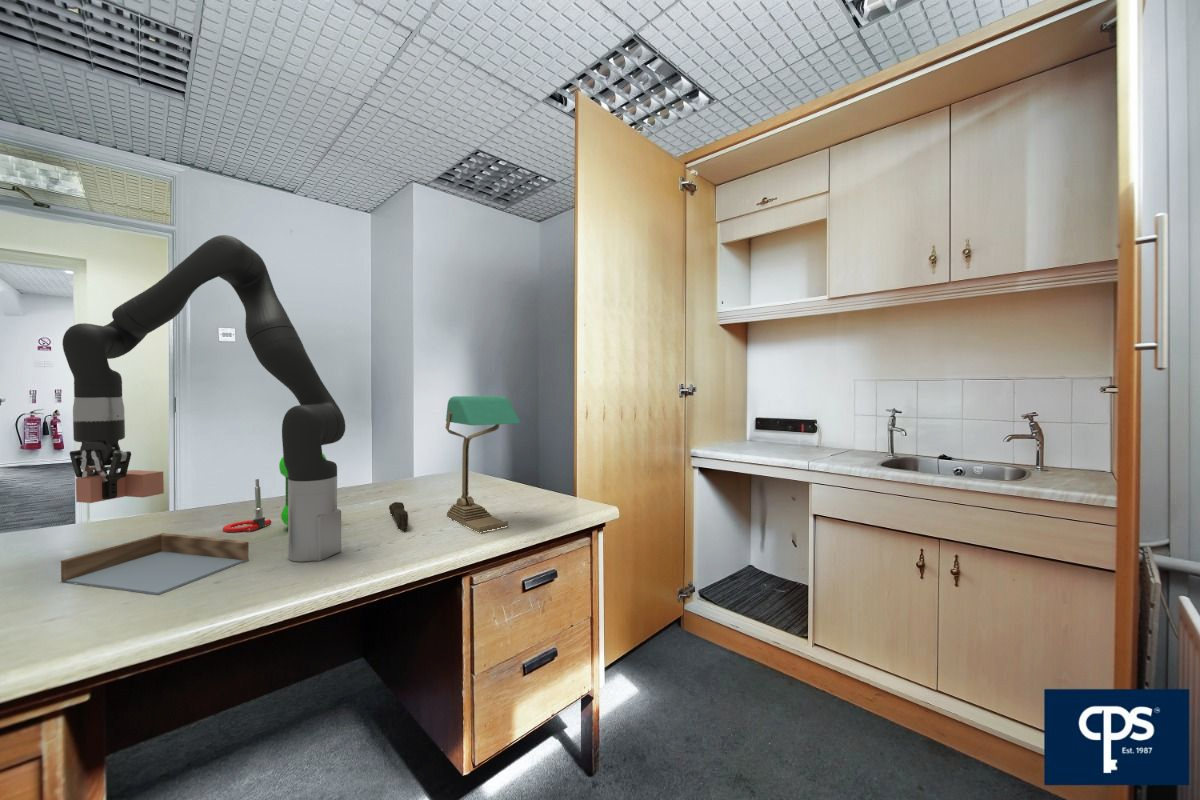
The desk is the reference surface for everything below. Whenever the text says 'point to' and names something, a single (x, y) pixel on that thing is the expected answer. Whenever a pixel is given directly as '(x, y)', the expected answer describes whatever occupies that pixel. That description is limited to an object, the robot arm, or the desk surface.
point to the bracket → (121, 486)
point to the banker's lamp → (468, 413)
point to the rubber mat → (156, 572)
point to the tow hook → (258, 516)
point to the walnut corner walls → (150, 546)
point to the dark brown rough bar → (399, 515)
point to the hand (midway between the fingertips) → (101, 497)
